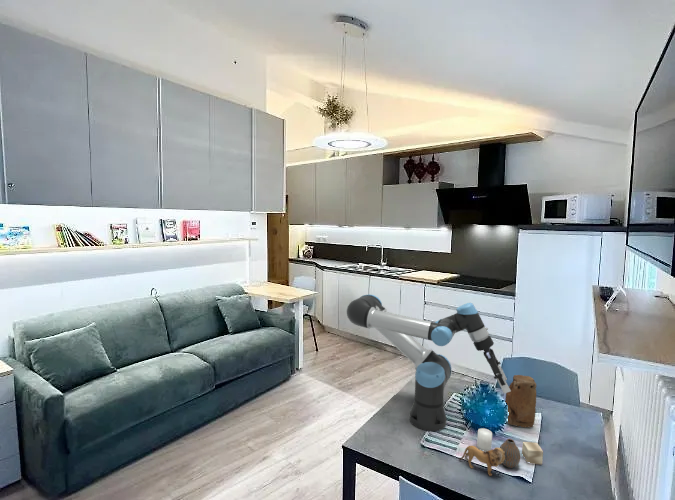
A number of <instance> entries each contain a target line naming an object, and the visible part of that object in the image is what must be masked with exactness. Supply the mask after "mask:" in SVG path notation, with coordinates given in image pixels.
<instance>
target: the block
mask: <svg viewBox="0 0 675 500" xmlns="http://www.w3.org/2000/svg"><path fill="white" fill-rule="evenodd" d="M508 386H509V388H510V390H511V391H510V392H507V393H505V402H506V403H507V405H508V412H509V416H508V423H507V424H508V425H510V426H516V427H519V426H521V427H520V428H526V427H527V428H532V427H534V424H535V420H536V413H537V412H536V411H537V410H536V407H537V382H535V380H534V378H533V377H531V376H529V375H522V374H516V375H513V377H512V382H511V383H510V384H509V385H508ZM505 402H504V403H505Z"/></svg>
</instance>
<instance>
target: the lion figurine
mask: <svg viewBox="0 0 675 500" xmlns="http://www.w3.org/2000/svg"><path fill="white" fill-rule="evenodd" d="M504 454H505V452H504V451H503V450H502V449H501V448H500V447H494V448H493V449H491V450H490V451H482V450H480V449H479V448H478V447H477V446H475V445H468V446H466V448H465V449H464V452H463V455H462V456H461V457H459V458H458V460H459V461H463V460H465V461H467V462H468V465H469V468H470V469H474V465H472V460H474V457H475V458H476V460H477V461H478V462H481V463H482V464H486V466H487V474H488V475H489V477H491V476H493V473H492V471H493V468H492V467H496V468H497V467H499V465H502V464H503V461H504V460H505V455H504Z"/></svg>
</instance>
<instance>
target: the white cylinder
mask: <svg viewBox="0 0 675 500" xmlns="http://www.w3.org/2000/svg"><path fill="white" fill-rule="evenodd" d="M492 442H493V432H492V431H491V430H489V429H487V428H484V427H483V428H482V427H481V428H478V430H477V440H476V448H478V449H479V450H480V449H481V451H482V450H484V452H486V451H490V450H492Z"/></svg>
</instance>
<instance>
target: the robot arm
mask: <svg viewBox="0 0 675 500" xmlns="http://www.w3.org/2000/svg"><path fill="white" fill-rule="evenodd" d="M382 303H383V302H382V301H381V299H380V298H379V297H378V296H376V295H375V294H363V295H362V296H360V297H358V298H356V299H354V300H351V302H349V304H348V305H347V308H346V316H347V318H348V320H349V321H350V323H352V324H353V325H355V326H358V327H360V328H361V327H362V328H365V329H374V328H375V329H376V330H377V332H379V333H380V334H381V335H382V336H383V337H384V338H385V339H386V340H388V341H389V342H390V343H391V344H392V345H393V346H394V347H395V348H396V349H397V350H399V351H400V353H402V354H403V355H404V356H405V357H406V358H407V359H408V360H409V361H411V362H412V363H413V364H414V370H415V373H414V375H415V377H414V378H415V381H414V401H413V404H412V406H411V407H410V408H411V409H410V411H409V415H408V416H409V422H410V423H411V424H412V425H413V426H414V427H415V428H418V429H420V430H424V431H428V432H437V430H438V431H440V430H443V429H444V428H446V426H447V415H446V411H445V408H444V394H445V393H444V391H445V387H446V385H447V383H448V381H449V380H450V378H451V375H452V364H451V361H450V360H449V359H448V358H447V357H446V356H445V355H443V354H441V353H440V354H438V353H436V352H435V351H433V350H432V349H427V348H425V347H424V346H423V345H422V344H421V343H420V342H419V341H418V340H416V339H415V338H418V339H419V338H420V339H423V340H427V341H431V342H432V343H434V344H435V346H438V347H444V346H445V347H446V346H447V345H448V344H449V343H450V342H451V341H452V340H453V337H454V336H455V334H456V333H460V332H462V331H465V330H466V332H467V334H468V336H469V338H470V340H471V342H473V346H474V347H475V349H476V351H479V352H481V351H483V356H484V358H485V359H486V362H487V363H488V364H489V366H490V369H491V370H492V373H493V375H494V376H493V379H494V380H497V383H498V384H499V387H500V388H501V391H502V392H503V394H506V393H507V392H510V391H511V390H510V388H509V386H510V385H508V383H507V380H508V378H507V376H506V374H505V372H504V370H503V368H502V366H501V361H499V360H498V358H497V357H496V355H495V352H494V350H493V348H491V347H492V346H493V345H494V340H493V338H492V337H491V335H490V334H489V332H488V331H489V328H488V327H486V325H485V323H484V321H483V320H482V317H481V315H480V314H479V311H478V310H477V309H476V307H475V306H474V303H472V302H467V303H464V304H462V305H460V306H458V307H457V308H456V312H455V313H454V314H451V315H449V316H446V317H444V318H443V317H442V318H440V319H438V320H437V321H435V322H433V321H429V320H424V319H420V318H416V317H412V316H411V317H410V316H405V315H400V314H397V313H392V312H387V309H386V308H385V307H384V305H383V304H382ZM414 337H415V338H414Z"/></svg>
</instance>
